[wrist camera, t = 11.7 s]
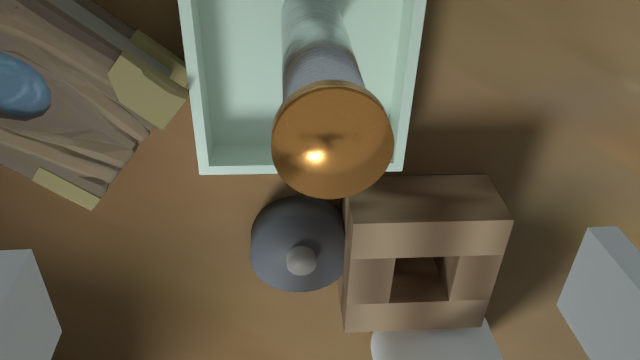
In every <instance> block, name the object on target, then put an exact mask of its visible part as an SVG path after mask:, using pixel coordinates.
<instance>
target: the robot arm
mask: <svg viewBox="0 0 640 360" xmlns="http://www.w3.org/2000/svg"><path fill="white" fill-rule="evenodd" d="M557 307H558V309H559V310H560V312H561V314H562V315H563V317H564V318H565V320H566V322H567V323H568V325H569V326H570V328H571V330H572V331H573V333H574V334H575V336H576V338H577V339H578V341H579V343H580V344H581V346H582V347H583V349H584V351H585V352H586V354H587V355H588V357H589V359H590V360H640V252H639V250H638V249H637V248H636V247H635V246H634V245H633V244H632V243H631V241H630V240H629V239H628V238H627V237H626V236H625V235H624V234H623V233H622V231H621V230H620V229H619V228H618V227H617V226H610V227H588V228H587V230H586V233H585V235H584V238H583V240H582V243H581V245H580V248H579V250H578V252H577V255H576V257H575V260H574V262H573V265H572V267H571V270H570V272H569V275H568V277H567V280H566V282H565V285H564V287H563V290H562V292H561V295H560V297H559V300H558V302H557ZM61 333H62V330H61V327H60V325H59V322H58V319H57V317H56V314H55V311H54V309H53V306H52V303H51V300H50V298H49V295H48V292H47V290H46V287H45V284H44V282H43V279H42V276H41V273H40V271H39V268H38V265H37V263H36V260H35V257H34V255H33V252H32V249H22V250H0V360H51V358H52V356H53V353H54V351H55V348H56V345H57V343H58V340H59V338H60V335H61Z"/></svg>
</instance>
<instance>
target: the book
mask: <svg viewBox="0 0 640 360" xmlns="http://www.w3.org/2000/svg"><path fill="white" fill-rule="evenodd" d="M187 84H188V78H187V70H186V62H185V61H183V60H182V59H180V58H179V57H177V56H176V55H174V54H173V53H172V52H170V51H169V50H167V49H166V48H164V47H163V46H162V45H160V44H159V43H157V42H156V41H154V40H153V39H152V38H150V37H149V36H147V35H146V34H144V33H143V32H141V31H140V30H138V29H137V30H136V31H135V30H133V29H132V28H131V27H129V26H128V25H126V24H125V23H123V22H122V21H121V20H119V19H118V18H116V17H115V16H113V15H112V14H111V13H109V12H108V11H106V10H105V9H103V8H102V7H100V6H99V5H97V4H96V3H95V2H93V1H92V0H0V164H1V165H3V166H5V167H7V168H9V169H11V170H13V171H15V172H17V173H19V174H21V175H23V176H25V177H27V178H29V179H31V180H32V181H34V182H36V183H37V184H39V185H41V186H43V187H45V188H47V189H49V190H51V191H53V192H54V193H56V194H58V195H60V196H62V197H64V198H66V199H69V200H71V201H73V202H75V203H77V204H79V205H81V206H83V207H85V208H87V209H89V210H91V211H92V210H93V209H94V207H95V206H96V205H97V203H98V202H99V201H100V199H101V197H102V196H103V195H104V194H105V193H106V191H107V189H108V186H109V183H110V182H111V181H112V180H113V179H114V178H115V177H116V176H117V175H118V174H119V172H120V171H121V169H122V168H123V167H124V166H125V164H126V163H127V162H128V161H129V160H130V158H131V157H132V156H133V154H134V153H135V151H136V149H137V147H138V145H139V144H138V143H137V142H138V141H140V142H143V141H144V140H145V139H146V138H147V137H148V135H149V134H150V130H153V128H154V127H155V126H156V127H158V128H159V129H161V130H162V131H163V130H164V128H165V127H166V126H167V125H168V123H169V122H170V121H171V119H172V118H173V117H174V115H175V114H176V113H177V112H178V110H179V109H180V108H181V107H182V105H183V104H184V103H185V102H186V100H187V97H188V94H189V91H188V90H187V89H185V88H184V87H185V86H186V85H187Z"/></svg>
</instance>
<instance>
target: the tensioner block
mask: <svg viewBox="0 0 640 360" xmlns="http://www.w3.org/2000/svg"><path fill="white" fill-rule="evenodd" d="M513 224H514V218H513V216H512V215H511V213H510V211H509V210H508V208H507V206H506V205H505V203H504V201H503V200H502V198H501V196H500V195H499V193H498V191H497V190H496V188H495V186H494V185H493V183H492V181H491V180H490V178H489V176H488V175H487V174H480V175H424V176H381V177H380V178H379V179H378V180H377V181H376V182H375V183H374V184H373V185H371V186H370V187H368V188H367V189H365V190H363V191H361V192H360V193H357V194H355V195H352V196H348V197H344V198H343V203H342V214H341V212H340V211H339V210H338V209H337V208H336V207H335V206H333V205H332V204H331V203H329V202H327V201H325V200H322V199H320V198H315V197H311V196H291V197H286V198H283V199H280V200H277V201H275V202H273V203H271V204H269V205H268V206H267V207H265V208H264V209H263V210H262V211H261V212H260V213H259V214H258V216H257V217H256V219H255V221H254V223H253V226H252V230H251V249H250V261H251V265H252V268H253V270H254V272H255V273H256V274H257V276H258V277H259V278H260V279H261V280H262V281H264V282H265V283H266V284H268V285H270V286H272V287H274V288H276V289H280V290H283V291H288V292H308V291H314V290H317V289H320V288H323V287H326V286H328V285H330V284H331V283H333V282H334V281H336V280H337V283H338V290H339V298H340V305H341V312H342V320H343V327H344V333H352V332H377V331H401V330H426V329H450V328H474V327H482V324H483V320H484V317H485V314H486V311H487V307H488V304H489V301H490V298H491V295H492V291H493V288H494V285H495V282H496V278H497V275H498V272H499V269H500V266H501V262H502V259H503V256H504V253H505V249H506V246H507V243H508V240H509V237H510V233H511V230H512V227H513Z"/></svg>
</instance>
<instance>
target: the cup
mask: <svg viewBox="0 0 640 360" xmlns="http://www.w3.org/2000/svg"><path fill="white" fill-rule="evenodd" d="M371 352H372V357H373V360H503V358H502V356H501V354H500V351H499V349H498V346H497V344H496V342H495V339H494V337H493V335H492V332H491V330H490V327H489V325H488V323H487V320H486V318H485V317H484V320H483V324H482V327H474V328H450V329H426V330H401V331H377V332H373V334H372V338H371Z"/></svg>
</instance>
